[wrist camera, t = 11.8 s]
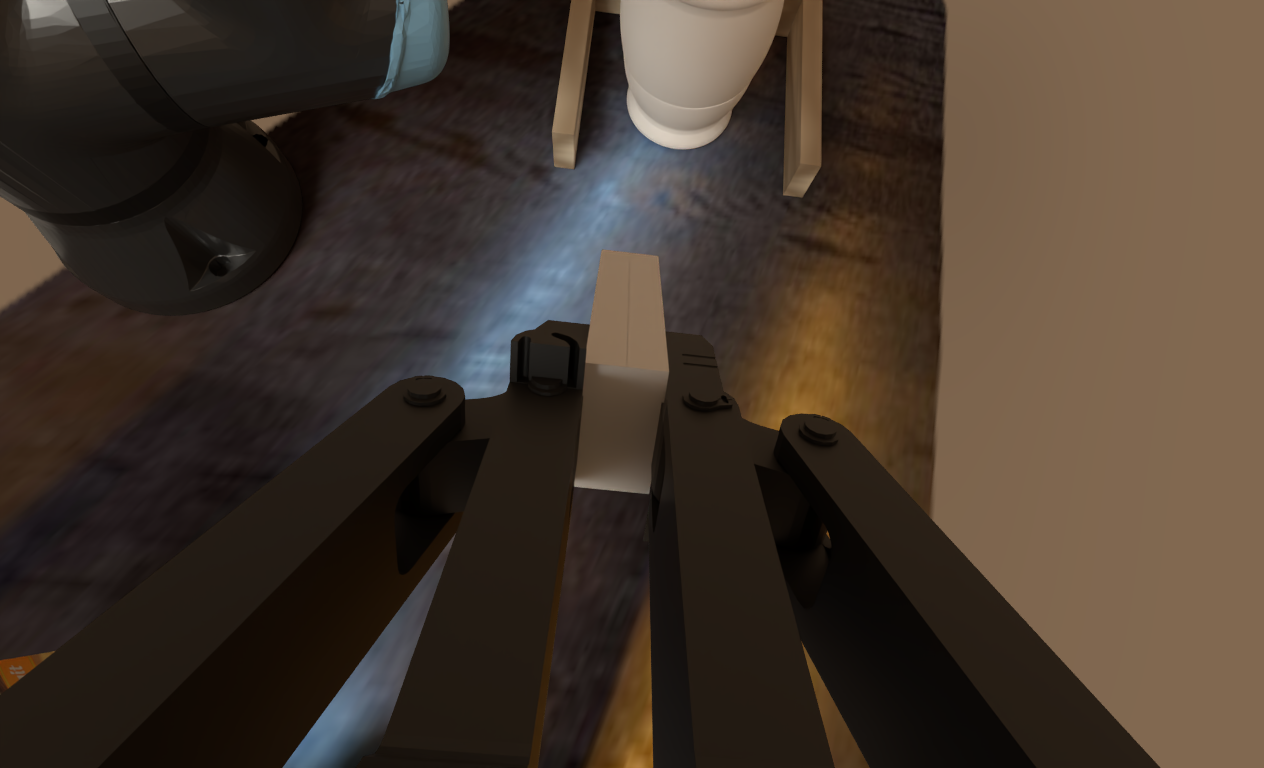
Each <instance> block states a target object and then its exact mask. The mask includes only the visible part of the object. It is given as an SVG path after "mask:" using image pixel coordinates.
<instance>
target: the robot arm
mask: <svg viewBox="0 0 1264 768" xmlns="http://www.w3.org/2000/svg"><path fill="white" fill-rule="evenodd" d="M449 40H450V34H449V15H448V4H447V0H0V197H2V198H4V199H5V200H7V201H9V202H10V203H12V204H13V205H15V206H16V207H18V208H19V209H21V210H23V211H24V212H25V213H26V214H27V215H28V217H29V218H30V219H31V221H32V222H33V223H34V224H35V226H36V227H37V228H38V230H39V231H40V232H41V234H42V235H43V236H44V237H45V239H46V240H47V241H48V242H49V243H50V245H51V246H52V248H53V249H54V250H55V252H56V254H57V256H58V257H59V258H60V260H61V262H62V263H63V264H64V266H65V267H66V268H67V269H68V270H69V271H70V272H71V273H72V274H73V275H74V276H75V277H76V278H78V279H79V280H80V281H81V282H82V283H84V284H85V285H87V286H88V287H90V288H91V289H93V290H95V291H97V292H98V293H100V294H102V295H104V296H105V297H107V298H109V299H111V300H112V301H114V302H116V303H118V304H120V305H122V306H124V307H127V308H130V309H133V310H136V311H139V312H144V313H149V314H155V315H187V314H194V313H199V312H204V311H208V310H212V309H215V308H218V307H221V306H223V305H226V304H228V303H230V302H233V301H235V300H237V299H239V298H240V297H242V296H244V295H246V294H247V293H249V292H251V291H252V290H253V289H255V288H256V287H258V286H259V285H260V284H261V283H263V282H264V281H265V280H266V279H267V278H268V277H269V276H270V275H271V274H272V273H273V272H274V271H275V270H276V269H277V268H278V267H279V265H280V264H281V263H282V262H283V260H284V259H285V257H286V256H287V254H288V253H289V251H290V249H291V248H292V246H293V244H294V241H295V239H296V236H297V234H298V231H299V227H300V223H301V217H302V194H301V189H300V185H299V182H298V179H297V176H296V174H295V172H294V170H293V168H292V166H291V165H290V163H289V162H288V160H287V159H286V158H285V156H284V155H283V153H282V152H281V151H280V149H279V148H278V146H277V145H276V144H275V143H274V141H273V140H272V139H271V138H270V137H269V136H268V135H267V134H266V133H265V132H264V131H263V130H262V129H261V128H260V127H259V126H257V125H256V124H255V123H253V122H252V121H250V120H254V119H260V118H265V117H270V116H277V115H282V114H288V113H293V112H299V111H305V110H310V109H316V108H321V107H327V106H333V105H338V104H344V103H349V102H355V101H361V100H366V99H379V98H383V97H385V96H386V95H387V94H388V93H390V92H394V91H397V90H401V89H405V88H408V87H412V86H416V85H420V84H423V83H427V82H429V81H431V80H433V79H434V78H435V77H437V76H438V75H439V74H440V73H441V71H442V70H443V68H444V66H445V64H446V62H447V58H448V53H449ZM651 478H652V491H651V497H650V503H649V509H648V515H647V521H646V527H645V533H644V539H643V541H649V573H650V623H651V673H652V723H653V768H835V767H834V763H833V759H832V755H831V752H830V748H829V744H828V740H827V737H826V733H825V729H824V725H823V722H822V718H821V714H820V710H819V707H818V703H817V699H816V695H815V692H814V688H813V684H812V680H811V677H810V673H809V669H808V665H807V661H806V658H805V654H804V650H803V646H802V643H803V645H804V647H805V648H806V650H807V652H808V654H809V656H810V658H811V660H812V661H813V663H814V665H815V667H816V669H817V671H818V673H819V674H820V676H821V678H822V680H823V682H824V684H825V685H826V687H827V689H828V691H829V693H830V695H831V697H832V698H833V700H834V702H835V704H836V706H837V708H838V710H839V711H840V713H841V715H842V717H843V719H844V721H845V722H846V724H847V726H848V728H849V730H850V732H851V734H852V735H853V737H854V739H855V741H856V743H857V745H858V747H859V748H860V750H861V752H862V754H863V756H864V758H865V760H866V761H867V763H868V765H869V767H870V768H1160V767H1159V766H1158V765H1157V764H1156V763H1155V761H1154V760H1153V759H1152V758H1151V757H1150V756H1149V755H1148V754H1147V753H1146V752H1145V751H1144V749H1143V748H1142V747H1141V746H1140V745H1139V744H1138V743H1137V742H1136V741H1135V740H1134V739H1133V738H1132V737H1131V735H1130V734H1129V733H1128V732H1127V731H1126V730H1125V729H1124V728H1123V727H1122V726H1121V725H1120V724H1119V722H1118V721H1117V720H1116V719H1115V718H1114V717H1113V716H1112V715H1111V714H1110V713H1109V711H1108V710H1107V709H1106V708H1105V707H1104V706H1103V705H1102V704H1101V703H1100V702H1099V701H1098V700H1097V698H1096V697H1095V696H1094V695H1093V694H1092V693H1091V692H1090V691H1089V690H1088V689H1087V688H1086V687H1085V685H1084V684H1083V683H1082V682H1081V681H1080V680H1079V679H1078V678H1077V677H1076V676H1075V675H1074V674H1073V672H1072V671H1071V670H1070V669H1069V668H1068V667H1067V666H1066V665H1065V664H1064V663H1063V662H1062V661H1061V659H1060V658H1059V657H1058V656H1057V655H1056V654H1055V653H1054V652H1053V651H1052V650H1051V649H1050V647H1049V646H1048V645H1047V644H1046V643H1045V642H1044V641H1043V640H1042V639H1041V638H1040V637H1039V636H1038V634H1037V633H1036V632H1035V631H1034V630H1033V629H1032V628H1031V627H1030V626H1029V625H1028V624H1027V622H1026V621H1025V620H1024V619H1023V618H1022V617H1021V616H1020V615H1019V614H1018V613H1017V612H1016V611H1015V610H1014V608H1013V607H1012V606H1011V605H1010V604H1009V603H1008V602H1007V601H1006V600H1005V599H1004V598H1003V596H1002V595H1001V594H1000V593H999V592H998V591H997V590H996V589H995V588H994V587H993V586H992V585H991V584H990V582H989V581H988V580H987V579H986V578H985V577H984V576H983V575H982V574H981V573H980V571H979V570H978V569H977V568H976V567H975V566H974V565H973V564H972V563H971V562H970V561H969V560H968V558H967V557H966V556H965V555H964V554H963V553H962V552H961V551H960V550H959V549H958V548H957V546H956V545H954V543H953V542H952V541H951V540H950V539H949V538H948V537H947V536H946V535H945V533H944V532H943V531H942V530H941V529H940V528H939V527H938V526H937V525H936V524H935V523H934V522H933V520H932V519H931V518H930V517H929V516H928V515H927V514H926V513H925V512H924V511H923V510H922V509H921V507H920V506H919V505H918V504H917V503H916V502H915V501H914V500H913V499H912V498H911V497H910V495H909V494H908V493H907V492H906V491H905V490H904V489H903V488H902V487H901V486H900V485H899V484H898V482H897V481H896V480H895V479H894V478H893V477H892V476H891V475H890V474H889V473H888V472H887V471H886V469H885V468H884V467H883V466H882V465H881V464H880V463H879V462H878V461H877V460H876V459H875V458H874V456H873V455H872V454H871V453H870V452H869V451H868V450H867V449H866V448H865V447H864V446H863V444H862V443H861V442H860V441H859V440H858V439H857V438H856V437H855V436H854V435H853V434H852V433H851V432H850V431H849V430H848V429H846V428H845V427H844V426H843V425H841V424H839V423H837V422H835V421H833V420H831V419H830V418H828V417H824V416H822V417H821V415H816V414H795V415H790V416H788V417H787V418H785V419H783V420H782V424H781V427H780V430H779V431H777V430H774V429H770V428H767V427H763V426H760V425H757V424H754V423H751V422H749V421H747V420H745V419H743V418H742V417H741V413H740V410H739V406H738V404H737V403H736V401H735V399H734V398H733V397H731V396H730V395H729V394H727V393H726V392H724V391H723V387H722V383H721V379H720V375H719V370H718V368H717V362H716V359H715V354H714V350H713V346H712V345H711V344H710V343H709V342H708V341H707V340H706V339H705V338H704V337H702V336H701V335H692V334H683V333H674V332H666V331H665V323H664V313H663V302H662V292H661V281H660V271H659V260H658V256H653V255H644V254H636V253H627V252H619V251H610V250H602V252H601V258H600V265H599V271H598V277H597V284H596V290H595V296H594V303H593V309H592V315H591V322H590V325H588V324H579V323H570V322H561V321H552V320H548V321H546V322H545V323H543V324H542V325H540V326H539V327H537V328H536V329H535V330H528V331H524V332H522V333H520V334H517V335H516V336H515V337H514V338H513V339H512V340H511V358H510V383H509V386H508V388H507V391H506V392H505V393H503V394H501V395H497V396H493V397H488V398H481V399H467V400H465V394H464V390H463V388H462V387H461V386H460V385H458V384H457V383H456V382H454V381H451V380H448V379H446V378H441V377H434V376H415V377H412V378H408V379H404V380H401V381H399V382H397V383H395V384H393V385H391V386H389V387H388V388H387V389H386V390H384V391H383V392H382V393H381V394H379V395H378V396H377V397H376V398H374V399H373V400H372V401H371V402H369V403H368V404H367V405H365V406H364V407H363V408H362V409H360V410H359V411H358V412H357V413H355V414H354V415H353V416H352V417H350V418H349V419H348V420H347V421H345V422H344V423H343V424H341V425H340V426H339V427H338V428H336V429H335V430H334V431H333V432H331V433H330V434H329V435H328V436H326V437H325V438H324V439H323V440H321V441H320V442H319V443H317V444H316V445H315V446H314V447H312V448H311V449H310V450H309V451H307V452H306V453H305V454H304V455H302V456H301V457H300V458H299V459H297V460H296V461H295V462H294V463H292V464H291V465H290V466H288V467H287V468H286V469H285V470H283V471H282V472H281V473H280V474H278V475H277V476H276V477H275V478H273V479H272V480H271V481H270V482H268V483H267V484H266V485H264V486H263V487H262V488H261V489H259V490H258V491H257V492H256V493H254V494H253V495H252V496H251V497H249V498H248V499H247V500H246V501H244V502H243V503H242V504H240V505H239V506H238V507H237V508H235V509H234V510H233V511H232V512H230V513H229V514H228V515H227V516H225V517H224V518H223V519H222V520H220V521H219V522H218V523H216V524H215V525H214V526H213V527H211V528H210V529H209V530H208V531H206V532H205V533H204V534H203V535H201V536H200V537H199V538H198V539H196V540H195V541H194V542H193V543H191V544H190V545H189V546H187V547H186V548H185V549H184V550H182V551H181V552H180V553H179V554H177V555H176V556H175V557H174V558H172V559H171V560H170V561H169V562H167V563H166V564H165V565H163V566H162V567H161V568H160V569H158V570H157V571H156V572H155V573H153V574H152V575H151V576H150V577H148V578H147V579H146V580H145V581H143V582H142V583H141V584H139V585H138V586H137V587H136V588H134V589H133V590H132V591H131V592H129V593H128V594H127V595H126V596H124V597H123V598H122V599H121V600H119V601H118V602H117V603H115V604H114V605H113V606H112V607H110V608H109V609H108V610H107V611H105V612H104V613H103V614H102V615H100V616H99V617H98V618H97V619H95V620H94V621H93V622H92V623H90V624H89V625H88V626H86V627H85V628H84V629H83V630H81V631H80V632H79V633H78V634H76V635H75V636H74V637H73V638H71V639H70V640H69V641H68V642H66V643H65V644H64V645H62V646H61V647H60V648H59V649H57V650H56V651H55V652H54V653H52V654H51V655H50V656H49V657H47V658H46V659H45V660H44V661H42V662H41V663H40V664H38V665H37V666H36V667H35V668H33V669H32V670H31V671H30V672H28V673H27V674H26V675H25V676H23V677H22V678H21V679H20V680H18V681H17V682H16V683H15V684H13V685H12V686H11V687H9V688H8V689H7V690H6V691H4V692H3V693H2V694H1V695H0V768H282V767H283V766H284V765H285V763H286V762H287V761H288V759H289V758H290V756H291V755H292V754H293V752H294V751H295V750H296V748H297V747H298V746H299V744H300V743H301V742H302V740H303V739H304V738H305V736H306V735H307V733H308V732H309V731H310V729H311V728H312V727H313V725H314V724H315V723H316V721H317V720H318V719H319V717H320V716H321V715H322V713H323V712H324V710H325V709H326V708H327V706H328V705H329V704H330V702H331V701H332V700H333V698H334V697H335V696H336V694H337V693H338V692H339V690H340V689H341V687H342V686H343V685H344V683H345V682H346V681H347V679H348V678H349V677H350V675H351V674H352V673H353V671H354V670H355V668H356V667H357V666H358V664H359V663H360V662H361V660H362V659H363V658H364V656H365V655H366V654H367V652H368V651H369V650H370V648H371V647H372V645H373V644H374V643H375V641H376V640H377V639H378V637H379V636H380V635H381V633H382V632H383V631H384V629H385V628H386V627H387V625H388V624H389V622H390V621H391V620H392V618H393V617H394V616H395V614H396V613H397V612H398V610H399V609H400V608H401V606H402V605H403V604H404V602H405V601H406V599H407V598H408V597H409V595H410V594H411V593H412V591H413V590H414V589H415V587H416V586H417V585H418V583H419V582H420V581H421V579H422V578H423V576H424V575H425V574H426V572H427V571H428V570H429V568H430V567H431V566H432V564H433V563H434V562H435V560H436V559H437V557H438V556H439V555H440V553H441V552H442V551H443V549H444V548H445V547H446V545H447V544H448V543H449V541H450V540H451V539H452V537H453V536H454V534H455V533H456V535H455V538H454V541H453V544H452V547H451V549H450V552H449V555H448V558H447V561H446V563H445V566H444V569H443V572H442V575H441V578H440V580H439V583H438V586H437V589H436V592H435V595H434V597H433V600H432V603H431V606H430V609H429V611H428V614H427V617H426V620H425V623H424V626H423V628H422V631H421V634H420V637H419V640H418V643H417V645H416V648H415V651H414V654H413V657H412V659H411V662H410V665H409V668H408V671H407V674H406V676H405V679H404V682H403V685H402V688H401V691H400V693H399V696H398V699H397V702H396V705H395V707H394V710H393V713H392V716H391V719H390V722H389V724H388V727H387V730H386V733H385V735H384V738H383V740H382V742H381V745H380V747H379V748H378V750H377V751H376V753H375V754H372V755H368V756H364V757H363V758H362V759H361V761H360V762H359V764H358V765H357V766H356V768H538V761H539V753H540V745H541V738H542V730H543V723H544V715H545V707H546V700H547V692H548V685H549V677H550V669H551V662H552V654H553V646H554V639H555V631H556V624H557V616H558V608H559V601H560V593H561V586H562V578H563V570H564V563H565V555H566V548H567V540H568V532H569V525H570V517H571V509H572V501H573V491H574V487H583V488H593V489H604V490H614V491H624V492H634V493H644V494H649V490H650V484H651ZM827 531H828V533H829V536H830V538H829V537H828V536H827V534H826V533H827ZM801 641H802V643H801Z"/></svg>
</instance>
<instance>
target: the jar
mask: <svg viewBox="0 0 1264 768" xmlns="http://www.w3.org/2000/svg"><path fill="white" fill-rule="evenodd" d="M783 4H784V0H621V3H620V28H621V39H622V47H623V54H624V65H625V72H626V76H627V80H628V84H629V88H628V92H627V107H628V112H629V115H630V117H631V119H632V121H633V123H634V124H635V126H636V127H637V129H638V130H639V131H640V132H641V133H642V134H643V135H644V136H646V137H647V138H648V139H650V140H651V141H653V142H655V143H657V144H659V145H662V146H664V147H668V148H672V149H693V148H698V147H701V146H704V145H706V144H708V143H710V142H712V141H713V140H715V139H716V138H717V137H718V136H719V135H720V134H721V133H722V132H723V131H724V130H725V128H726V127H727V125H728V123H729V120H730V118H731V114H732V108H733V107H734V106H735V105H736V104H737V103H738V101H739V100H740V99H741V97H742V96H743V94H744V93H745V91H746V89H747V88H748V86H749V84H750V82H751V80H752V78H753V77H754V75H755V74H756V72H757V71H758V69H759V67H760V66H761V64H762V62H763V60H764V59H765V57H766V55H767V53H768V50H769V48H770V46H771V44H772V41H773V39H774V36H775V33H776V30H777V27H778V24H779V21H780V17H781V13H782V9H783Z"/></svg>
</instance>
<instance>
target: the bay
mask: <svg viewBox="0 0 1264 768" xmlns="http://www.w3.org/2000/svg"><path fill="white" fill-rule="evenodd" d="M620 3H621V0H571V6H570V13H569V20H568V27H567V34H566V41H565V47H564V54H563V61H562V68H561V75H560V82H559V89H558V95H557V102H556V109H555V116H554V123H553V130H552V137H553V153H554V167H561V168H569V169H574V167H575V160H576V152H577V145H578V137H579V130H580V122H581V114H582V107H583V99H584V92H585V84H586V76H587V69H588V61H589V54H590V46H591V38H592V31H593V23H594V16H595V11H600V12H607V13H615V14H620ZM775 36H782V37H787V64H786V102H785V141H784V180H783V195H786V196H794V197H803V196H804V194H805V192H806V191H807V189H808V187H809V186H810V184H811V182H812V181H813V179H814V177H815V176H816V174H817V172H818V171H819V169H820V167H821V126H822V0H784V4H783V9H782V13H781V17H780V21H779V24H778V27H777V30H776V33H775Z"/></svg>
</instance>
